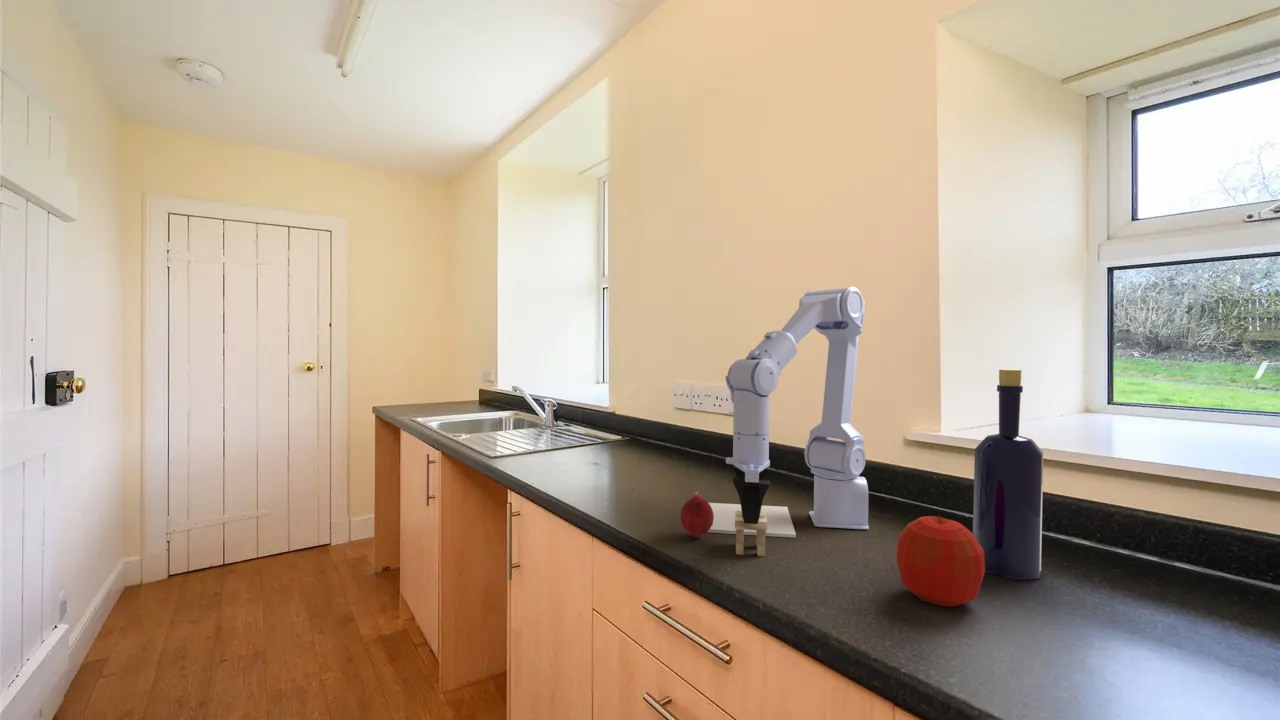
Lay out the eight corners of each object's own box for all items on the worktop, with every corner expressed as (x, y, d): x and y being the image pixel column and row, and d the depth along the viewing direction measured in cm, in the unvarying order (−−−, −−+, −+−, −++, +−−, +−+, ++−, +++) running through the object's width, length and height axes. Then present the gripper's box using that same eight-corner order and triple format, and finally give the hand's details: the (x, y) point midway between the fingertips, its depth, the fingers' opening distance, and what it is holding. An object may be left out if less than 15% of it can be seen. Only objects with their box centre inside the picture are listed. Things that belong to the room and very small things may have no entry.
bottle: (1030, 559, 84) (1035, 368, 83) (1054, 584, 75) (1059, 371, 74) (963, 552, 87) (967, 367, 86) (979, 575, 78) (983, 370, 77)
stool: (764, 545, 90) (765, 511, 90) (766, 557, 85) (766, 521, 85) (734, 543, 91) (734, 510, 90) (734, 554, 86) (734, 519, 86)
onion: (712, 545, 90) (712, 498, 90) (678, 542, 91) (678, 496, 91) (714, 533, 95) (714, 488, 95) (682, 530, 97) (682, 487, 96)
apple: (898, 610, 68) (900, 520, 68) (892, 578, 77) (894, 499, 77) (992, 626, 64) (994, 531, 64) (974, 590, 73) (975, 507, 73)
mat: (787, 509, 109) (787, 506, 109) (795, 537, 93) (795, 534, 93) (708, 505, 112) (708, 502, 112) (703, 532, 96) (703, 528, 96)
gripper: (726, 425, 95) (726, 501, 95) (725, 439, 81) (724, 528, 81) (767, 426, 94) (766, 503, 94) (773, 441, 79) (772, 531, 80)
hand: (750, 515), depth 87 cm, fingers open, 7 cm apart
